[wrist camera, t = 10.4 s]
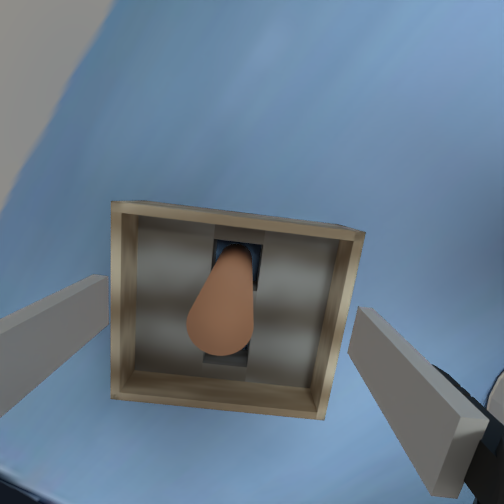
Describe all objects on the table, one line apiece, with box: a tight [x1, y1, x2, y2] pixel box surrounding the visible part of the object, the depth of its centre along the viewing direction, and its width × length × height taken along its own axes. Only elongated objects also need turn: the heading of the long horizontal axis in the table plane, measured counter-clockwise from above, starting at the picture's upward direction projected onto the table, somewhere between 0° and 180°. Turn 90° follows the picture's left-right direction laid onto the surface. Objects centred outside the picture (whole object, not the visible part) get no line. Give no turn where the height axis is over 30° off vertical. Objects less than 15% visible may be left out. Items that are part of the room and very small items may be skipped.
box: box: [111, 201, 366, 420], centre depth 24 cm, size 18×20×6 cm
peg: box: [186, 243, 254, 356], centre depth 19 cm, size 3×3×14 cm
